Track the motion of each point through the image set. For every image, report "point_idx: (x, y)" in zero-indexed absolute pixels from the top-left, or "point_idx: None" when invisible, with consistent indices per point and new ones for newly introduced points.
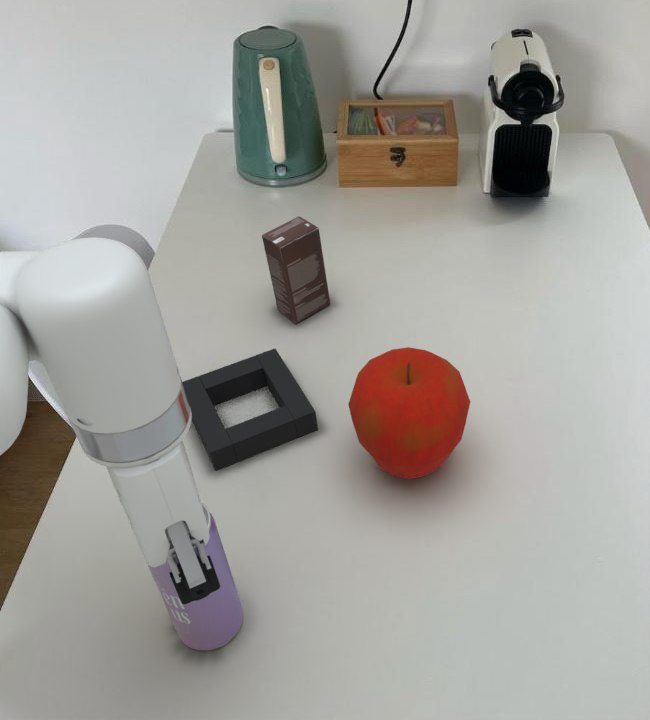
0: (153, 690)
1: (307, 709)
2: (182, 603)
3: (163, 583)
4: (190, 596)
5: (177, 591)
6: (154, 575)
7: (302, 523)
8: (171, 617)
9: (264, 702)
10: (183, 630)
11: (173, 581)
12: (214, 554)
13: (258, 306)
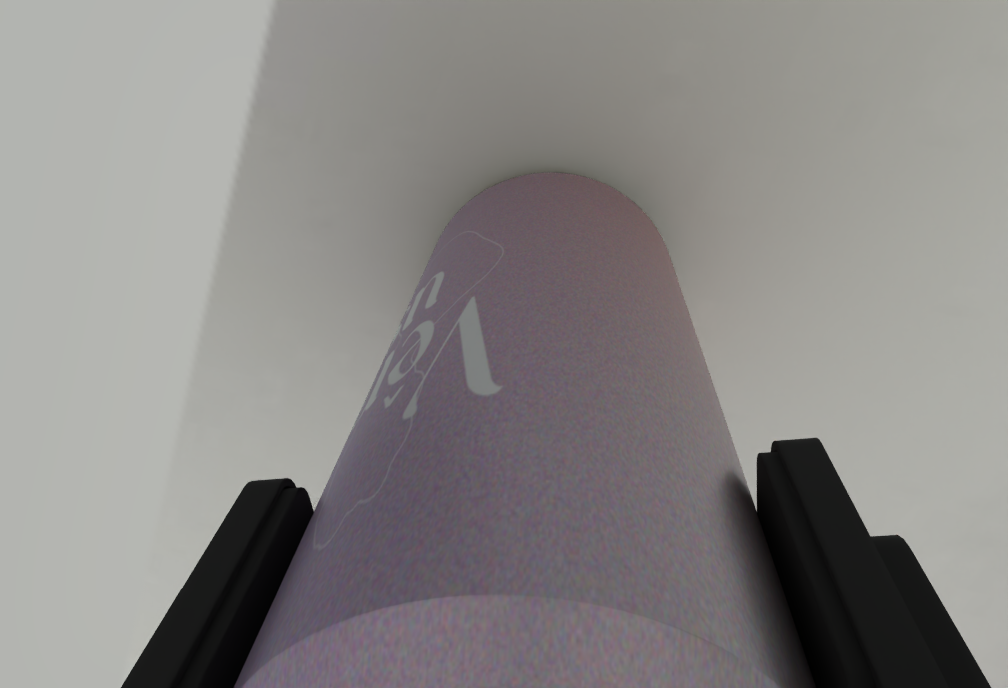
0: (358, 35)
1: (182, 465)
2: (249, 485)
3: (349, 467)
4: (168, 610)
5: (192, 579)
6: (392, 457)
7: None
8: (483, 238)
9: (226, 371)
10: (442, 252)
11: (135, 678)
12: None
13: None
